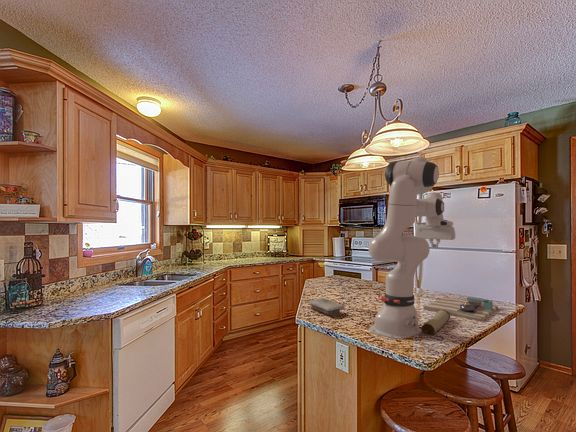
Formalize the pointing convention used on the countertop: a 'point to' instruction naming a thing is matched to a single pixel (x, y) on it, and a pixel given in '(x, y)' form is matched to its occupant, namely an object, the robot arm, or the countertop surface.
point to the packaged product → (326, 306)
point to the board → (454, 308)
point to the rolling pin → (435, 322)
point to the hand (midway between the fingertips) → (434, 247)
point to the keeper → (486, 302)
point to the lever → (469, 306)
